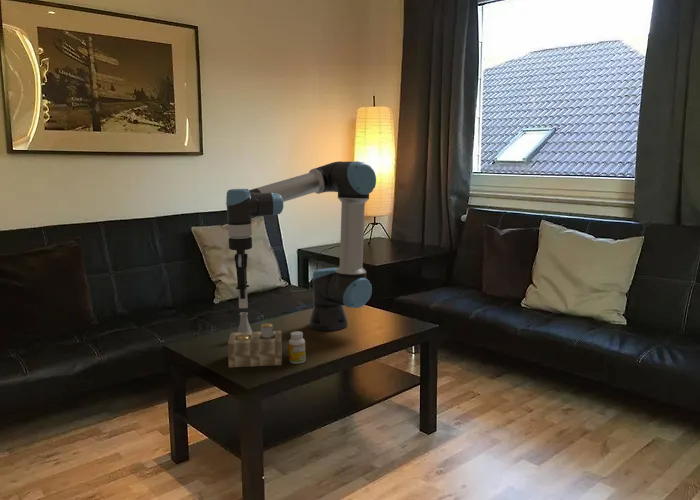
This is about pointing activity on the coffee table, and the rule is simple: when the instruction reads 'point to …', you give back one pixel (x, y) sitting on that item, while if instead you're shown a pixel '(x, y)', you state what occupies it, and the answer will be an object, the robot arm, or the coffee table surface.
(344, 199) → the robot arm
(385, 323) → the coffee table surface
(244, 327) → the flask
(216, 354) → the coffee table surface
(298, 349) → the supplement bottle
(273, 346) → the birch block
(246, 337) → the peg
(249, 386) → the coffee table surface
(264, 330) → the peg
